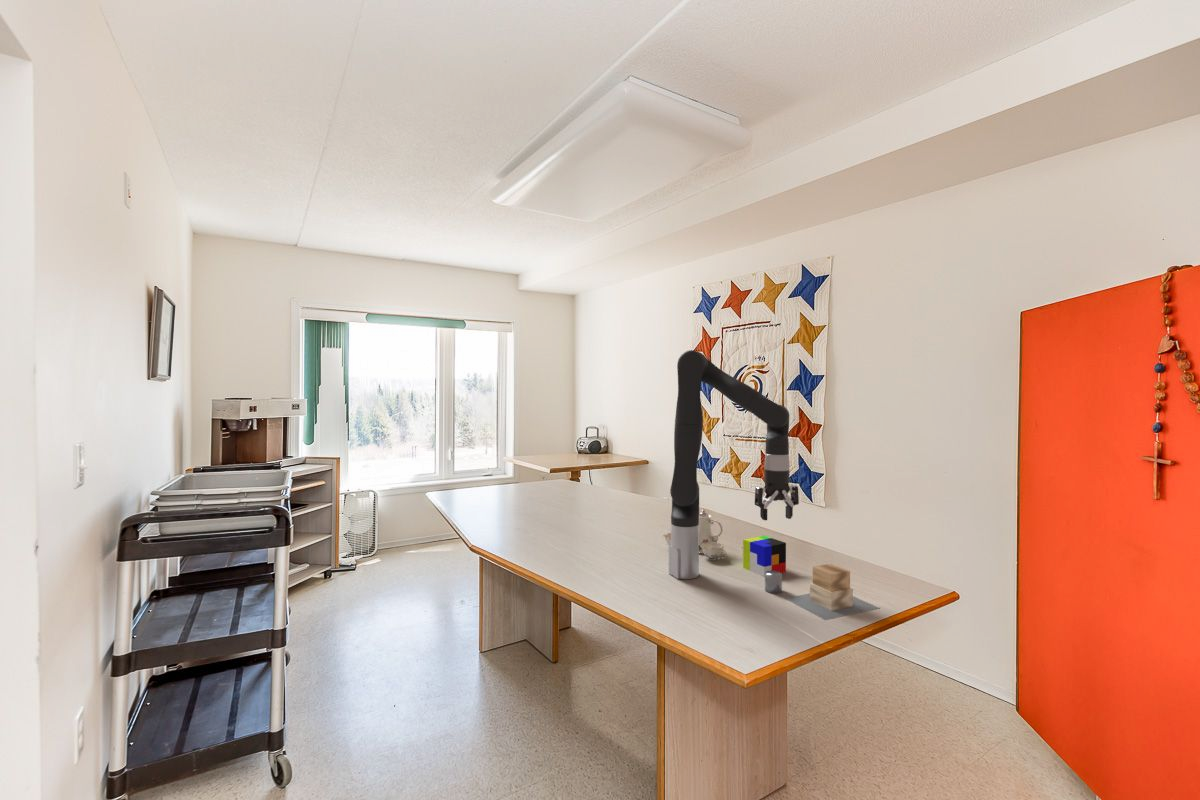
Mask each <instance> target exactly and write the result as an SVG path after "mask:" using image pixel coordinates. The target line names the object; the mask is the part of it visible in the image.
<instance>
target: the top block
mask: <svg viewBox="0 0 1200 800" xmlns="http://www.w3.org/2000/svg"><path fill="white" fill-rule="evenodd" d="M812 583H813V584H815V585H817V586H819V587H821V588H823V589H826V590H828V591H830V592H834V591H839V590H845V589H850V588H851V571H850V570H848V569H846V568H843V567H841V566H838V565H836V564H833V563H827V564H821V565H816V566H815V565H813V566H812Z"/></svg>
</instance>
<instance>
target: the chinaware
mask: <svg viewBox="0 0 1200 800" xmlns="http://www.w3.org/2000/svg"><path fill="white" fill-rule="evenodd" d="M712 517H713V516H712V515H711V514H708V513H707V512H706V510H705V509H704V508H702V509H701V511H699V552H700V553H699V554H703V553H704V554H703V555H704V556H705V557H706V558H707V560H709V559H710V560H709V561H714V560H715V559H717V560H721V559H726V557H727V555H728V553H727V551H726V549H724V548H725V546H724V544H723V543H722V542H721V543H720V542H719V543H718V541H719V537H720V536H722V534H723V525H722V524H721V522H720V521H719V520H716V519H712ZM714 522H715V523H717V524H718V525H719V527H720V532H719V534H717V535H714V534H713V531H712V526H711V525H714V524H715V523H714ZM663 538H664V540H665V541H666V544H667V545H668V546H669V545H671V532H668V533H667V534H664V535H663ZM722 552H724V554H725V556H721V554H722ZM715 561H716V560H715Z"/></svg>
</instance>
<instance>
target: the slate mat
mask: <svg viewBox="0 0 1200 800" xmlns="http://www.w3.org/2000/svg"><path fill="white" fill-rule="evenodd" d="M784 599H785V600H787V601H789V602H790V603H792V604H794V605H795V606H798V607H800V608H802V609H803V610H805V611H807V612H809V613H811V614H813V615H815V616H817V617H818V618H821V619H822V620H825V621H828V620H832V619H837V618H841V617H848V616H851V615H855V614H861V613H865V612H870V611H876V610H880V609H881V607H878V606H876V605H873V604H871V603H869V602H867V601H865V600H863V599H861V598H858V597H855V596H854V595H853V606H851V607H846V608H842V609H837V610H832V611H831V610H829V609H827V608H825V607H823V606H821V605H819V604H817V603H815V602H813V601H811V600H810V593H806V594H800V595H793V596H789V597H784Z"/></svg>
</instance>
